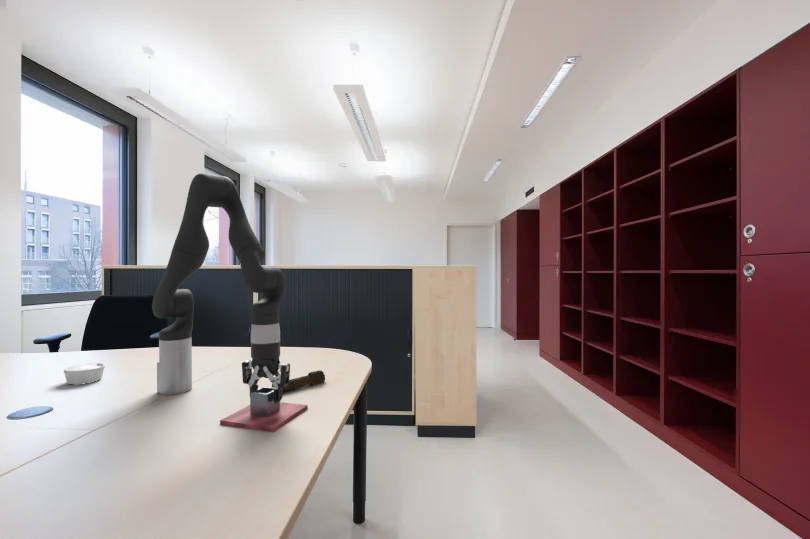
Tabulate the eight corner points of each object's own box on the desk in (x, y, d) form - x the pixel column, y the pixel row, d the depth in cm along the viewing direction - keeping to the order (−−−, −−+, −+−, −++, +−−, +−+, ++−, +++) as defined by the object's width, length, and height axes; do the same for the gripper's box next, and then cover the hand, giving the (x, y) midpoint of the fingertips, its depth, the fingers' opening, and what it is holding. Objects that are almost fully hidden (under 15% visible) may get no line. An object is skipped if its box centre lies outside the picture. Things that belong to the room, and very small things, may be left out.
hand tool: (276, 396, 121) (276, 382, 121) (270, 393, 124) (270, 379, 124) (328, 384, 134) (328, 371, 134) (323, 381, 137) (323, 368, 137)
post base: (220, 424, 100) (219, 403, 99) (260, 403, 115) (259, 384, 115) (273, 431, 95) (273, 409, 95) (307, 408, 110) (307, 389, 110)
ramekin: (110, 380, 139) (110, 365, 139) (70, 388, 129) (70, 372, 129) (97, 375, 145) (97, 361, 145) (58, 383, 135) (58, 368, 135)
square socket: (250, 414, 103) (250, 392, 103) (263, 407, 108) (263, 386, 108) (267, 417, 102) (267, 394, 101) (279, 409, 107) (279, 388, 107)
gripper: (233, 341, 103) (234, 402, 103) (280, 344, 99) (280, 408, 99) (252, 336, 110) (252, 393, 111) (296, 338, 106) (296, 398, 106)
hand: (265, 400), depth 105 cm, fingers open, 6 cm apart
